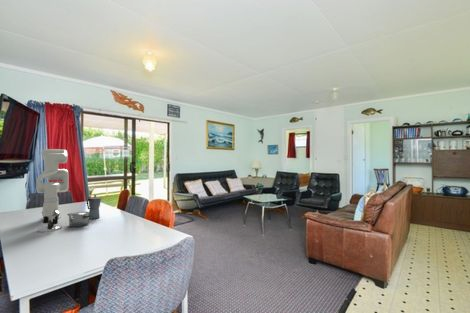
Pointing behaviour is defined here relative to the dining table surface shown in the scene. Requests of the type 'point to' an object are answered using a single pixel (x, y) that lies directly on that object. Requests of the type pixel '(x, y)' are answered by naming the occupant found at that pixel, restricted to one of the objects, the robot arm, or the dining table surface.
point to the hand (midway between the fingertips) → (50, 223)
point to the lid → (50, 227)
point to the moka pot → (94, 206)
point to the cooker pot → (78, 219)
